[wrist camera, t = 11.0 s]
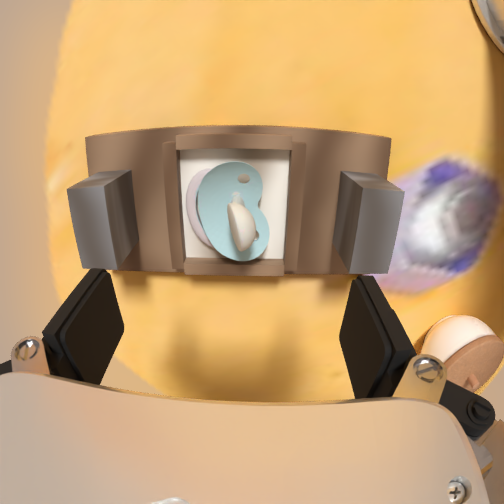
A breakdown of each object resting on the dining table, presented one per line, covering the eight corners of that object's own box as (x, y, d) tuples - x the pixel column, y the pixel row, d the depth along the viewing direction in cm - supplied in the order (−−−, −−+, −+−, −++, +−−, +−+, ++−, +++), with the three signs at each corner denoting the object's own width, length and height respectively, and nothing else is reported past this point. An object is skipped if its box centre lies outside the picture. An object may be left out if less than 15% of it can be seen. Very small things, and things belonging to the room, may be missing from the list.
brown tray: (383, 136, 22) (423, 148, 16) (364, 265, 27) (389, 306, 21) (93, 135, 22) (50, 147, 16) (111, 261, 27) (81, 300, 21)
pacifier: (199, 253, 25) (272, 243, 24) (182, 297, 19) (275, 287, 19) (178, 166, 22) (258, 152, 21) (150, 188, 16) (257, 169, 16)
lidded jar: (429, 298, 29) (469, 355, 21) (487, 299, 30) (525, 345, 21) (395, 365, 34) (418, 422, 26) (452, 360, 35) (479, 407, 26)
